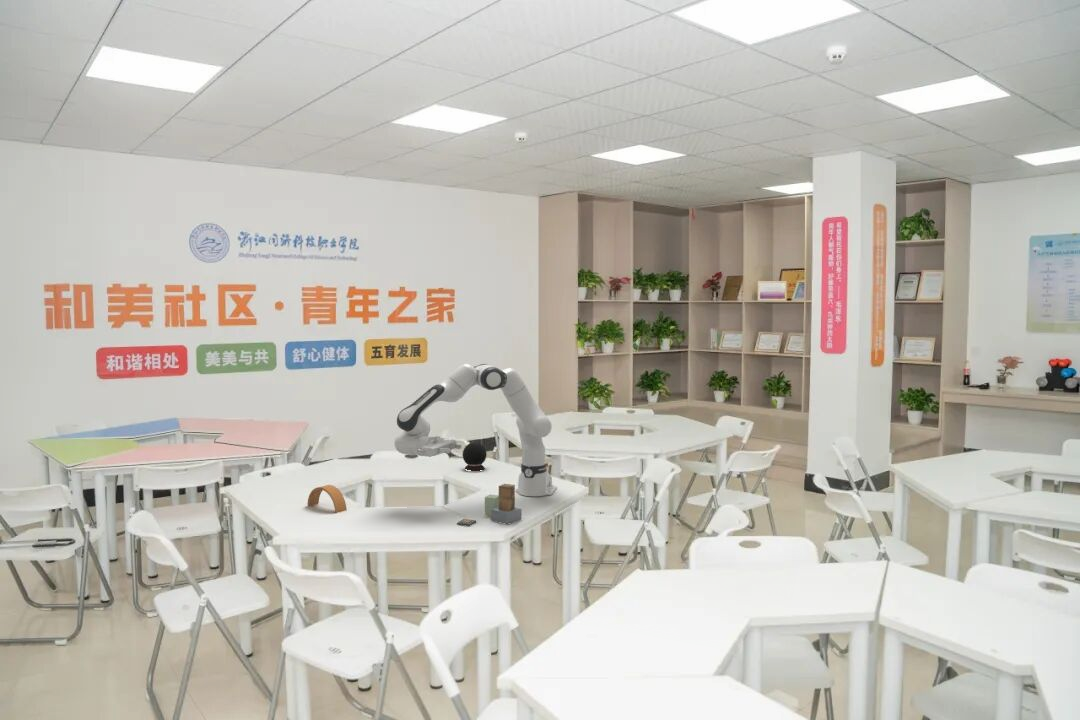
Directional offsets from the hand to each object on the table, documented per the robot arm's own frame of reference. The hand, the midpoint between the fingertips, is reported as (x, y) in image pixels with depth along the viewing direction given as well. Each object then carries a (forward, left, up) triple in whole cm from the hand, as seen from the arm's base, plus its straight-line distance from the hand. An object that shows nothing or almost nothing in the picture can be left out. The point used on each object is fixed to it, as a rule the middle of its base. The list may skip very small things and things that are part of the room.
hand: (455, 448), depth 319 cm
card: (+14, +13, -28) cm, 34 cm away
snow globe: (-76, -31, -28) cm, 87 cm away
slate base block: (+3, +26, -28) cm, 38 cm away
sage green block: (-2, +17, -28) cm, 33 cm away
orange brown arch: (+18, -56, -28) cm, 65 cm away
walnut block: (+3, +26, -23) cm, 35 cm away
